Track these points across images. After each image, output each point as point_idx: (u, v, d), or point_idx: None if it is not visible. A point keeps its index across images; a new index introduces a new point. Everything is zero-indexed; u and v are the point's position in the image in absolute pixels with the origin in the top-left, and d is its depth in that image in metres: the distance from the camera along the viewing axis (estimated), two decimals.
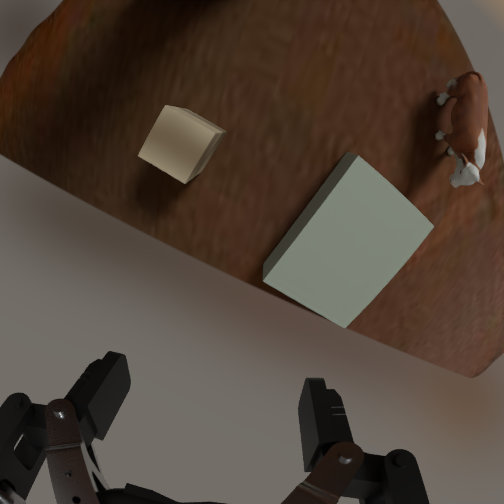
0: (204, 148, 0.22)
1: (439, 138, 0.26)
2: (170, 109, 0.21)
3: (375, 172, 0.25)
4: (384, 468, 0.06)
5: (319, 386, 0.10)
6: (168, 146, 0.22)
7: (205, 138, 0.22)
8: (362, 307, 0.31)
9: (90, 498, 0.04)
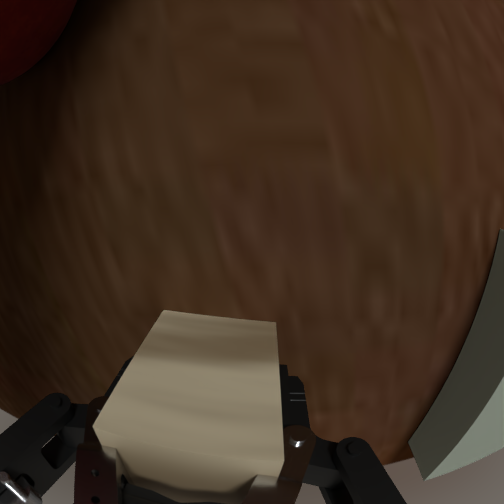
0: None
1: None
2: (113, 434, 0.06)
3: None
4: (338, 458, 0.07)
5: (281, 372, 0.11)
6: (179, 490, 0.06)
7: (261, 473, 0.06)
8: None
9: (110, 501, 0.04)
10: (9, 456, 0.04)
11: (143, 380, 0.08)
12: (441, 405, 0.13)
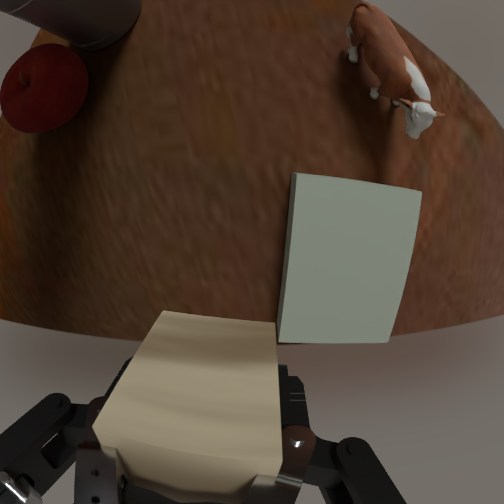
0: None
1: (376, 96, 0.23)
2: (112, 435, 0.06)
3: (325, 178, 0.23)
4: (338, 459, 0.07)
5: (281, 372, 0.11)
6: (178, 490, 0.06)
7: (259, 473, 0.06)
8: (394, 314, 0.26)
9: (111, 501, 0.04)
10: (9, 456, 0.04)
11: (142, 381, 0.08)
12: (281, 284, 0.29)
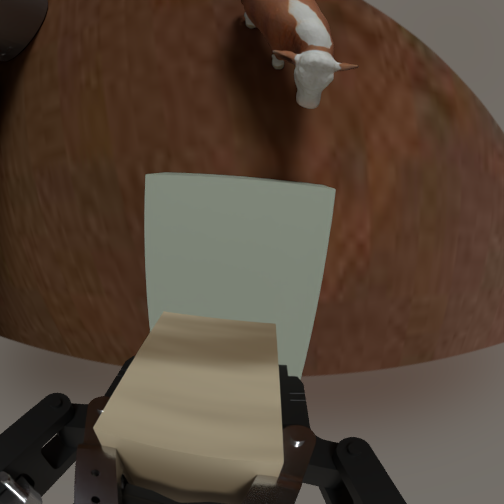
0: None
1: (279, 64, 0.18)
2: (113, 436, 0.06)
3: (180, 178, 0.17)
4: (338, 459, 0.07)
5: (281, 372, 0.11)
6: (179, 491, 0.06)
7: (260, 474, 0.06)
8: (301, 357, 0.21)
9: (111, 501, 0.04)
10: (9, 456, 0.04)
11: (143, 382, 0.08)
12: None
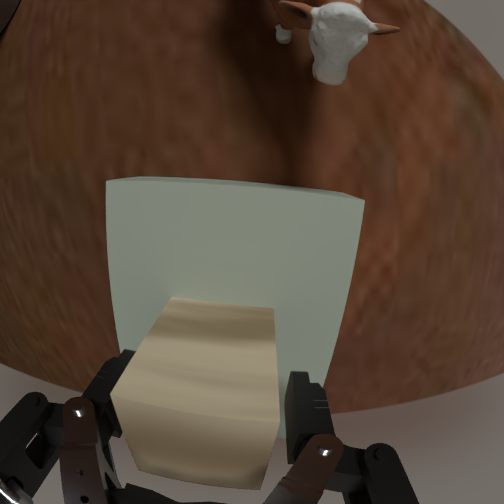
0: (269, 449, 0.07)
1: (285, 37, 0.13)
2: (128, 401, 0.07)
3: (150, 185, 0.12)
4: (364, 463, 0.06)
5: (303, 379, 0.11)
6: (185, 459, 0.08)
7: (259, 436, 0.07)
8: None
9: (99, 499, 0.04)
10: None
11: (155, 355, 0.09)
12: None
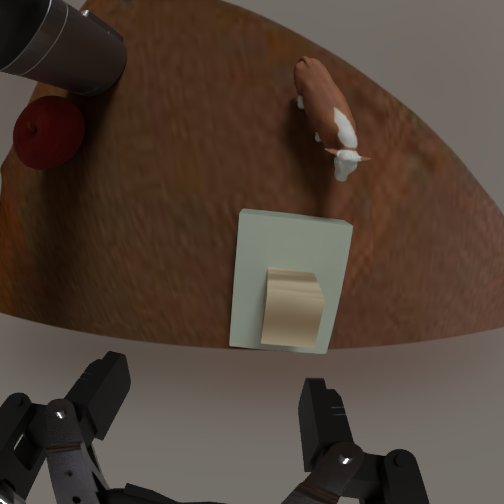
0: (320, 315, 0.24)
1: (320, 139, 0.30)
2: (274, 295, 0.24)
3: (262, 217, 0.29)
4: (384, 468, 0.06)
5: (319, 386, 0.10)
6: (287, 326, 0.25)
7: (318, 307, 0.24)
8: (329, 330, 0.32)
9: (90, 498, 0.04)
10: None
11: (275, 284, 0.26)
12: None
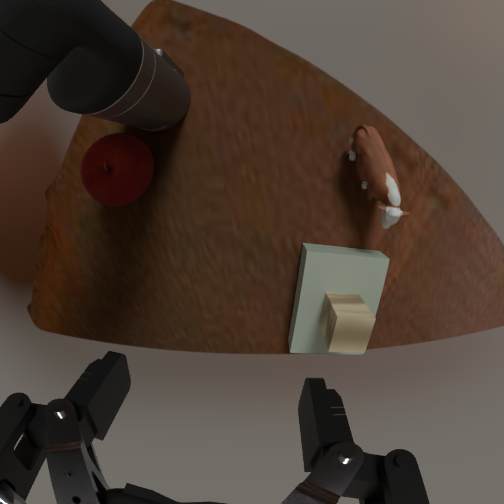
0: (371, 329, 0.32)
1: (365, 187, 0.37)
2: (342, 318, 0.31)
3: (324, 254, 0.37)
4: (384, 468, 0.06)
5: (319, 386, 0.10)
6: (348, 338, 0.32)
7: (370, 324, 0.32)
8: None
9: (90, 498, 0.04)
10: None
11: (338, 308, 0.34)
12: (292, 315, 0.43)
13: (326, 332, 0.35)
